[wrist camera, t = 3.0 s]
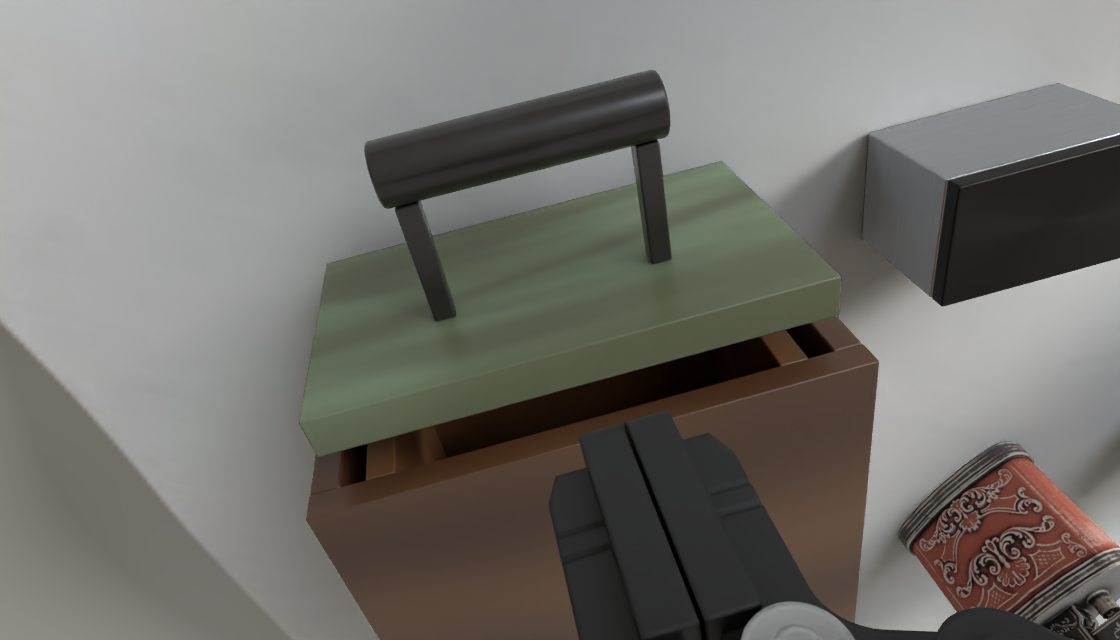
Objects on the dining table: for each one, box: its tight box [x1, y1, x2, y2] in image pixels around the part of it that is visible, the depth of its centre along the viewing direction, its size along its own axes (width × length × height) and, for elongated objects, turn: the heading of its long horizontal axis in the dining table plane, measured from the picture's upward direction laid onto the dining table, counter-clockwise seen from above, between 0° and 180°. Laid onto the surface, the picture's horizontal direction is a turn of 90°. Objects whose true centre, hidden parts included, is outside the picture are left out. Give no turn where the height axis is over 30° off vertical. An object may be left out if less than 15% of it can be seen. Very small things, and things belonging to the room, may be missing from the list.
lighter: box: [899, 442, 1120, 640], centre depth 34 cm, size 8×3×10 cm, turn 147°
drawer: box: [299, 70, 841, 480], centre depth 23 cm, size 22×13×8 cm, turn 11°
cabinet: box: [306, 316, 879, 640], centre depth 26 cm, size 18×15×10 cm
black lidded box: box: [862, 83, 1120, 306], centre depth 24 cm, size 4×7×5 cm, turn 101°
